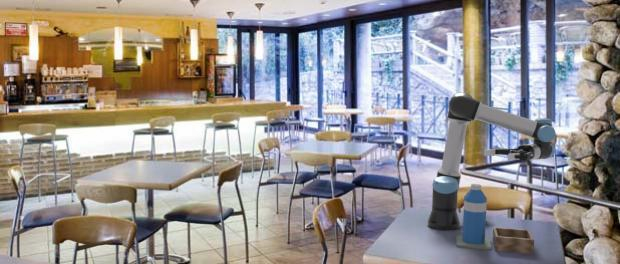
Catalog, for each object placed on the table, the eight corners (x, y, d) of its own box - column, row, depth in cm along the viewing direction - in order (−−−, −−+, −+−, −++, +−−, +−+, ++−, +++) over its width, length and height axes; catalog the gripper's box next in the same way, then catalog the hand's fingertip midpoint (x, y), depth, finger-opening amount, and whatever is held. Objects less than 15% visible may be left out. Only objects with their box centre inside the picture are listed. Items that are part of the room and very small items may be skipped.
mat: (456, 246, 230) (456, 244, 230) (456, 237, 244) (456, 235, 244) (491, 249, 227) (491, 247, 227) (489, 240, 240) (489, 238, 240)
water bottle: (473, 245, 229) (476, 187, 226) (457, 239, 237) (460, 183, 234) (489, 242, 233) (492, 185, 230) (473, 236, 241) (476, 181, 239)
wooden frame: (495, 250, 226) (495, 236, 225) (492, 240, 240) (493, 227, 240) (533, 254, 222) (534, 239, 221) (528, 243, 236) (529, 230, 236)
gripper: (550, 164, 242) (519, 167, 232) (505, 156, 264) (474, 158, 253) (551, 147, 241) (520, 150, 231) (506, 141, 263) (475, 143, 252)
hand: (496, 154), depth 242 cm, fingers open, 13 cm apart
